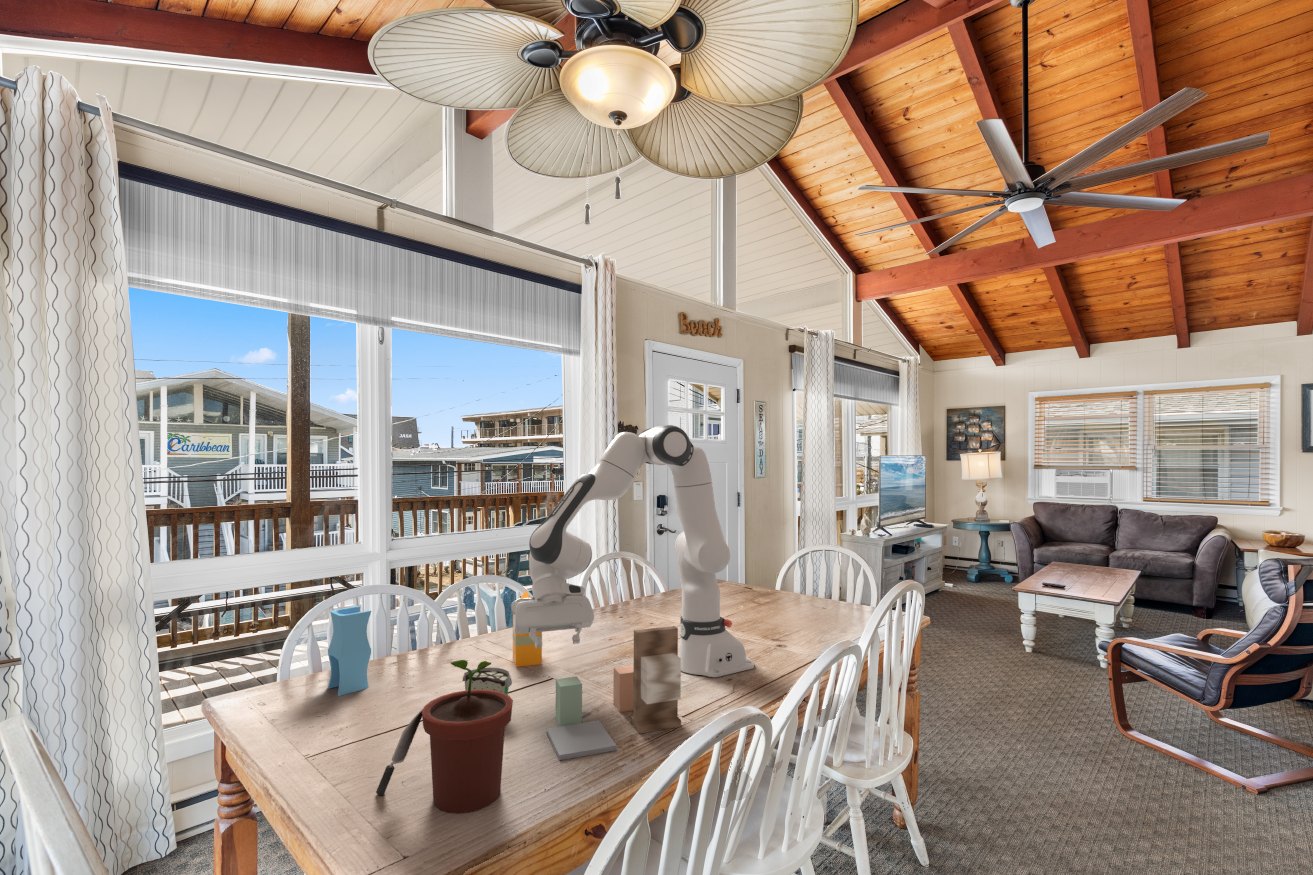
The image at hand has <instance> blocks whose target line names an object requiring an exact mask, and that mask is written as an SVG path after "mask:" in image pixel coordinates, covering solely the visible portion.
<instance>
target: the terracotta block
mask: <svg viewBox="0 0 1313 875" xmlns="http://www.w3.org/2000/svg"><path fill="white" fill-rule="evenodd" d="M633 690H634V664H629V665H628V664H627V665H622V666H614V667H613V692H612V693H613V698H612V700H613V706H614V707H615V708H616V709H617V711H618V712H619V713H623V712H629V711H633Z"/></svg>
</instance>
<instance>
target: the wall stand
mask: <svg viewBox="0 0 1313 875" xmlns="http://www.w3.org/2000/svg"><path fill="white" fill-rule="evenodd" d="M678 640H679V629H678V627H676V626H675V625H673V626H662V627H661V626H660V627H654V628H644V629H643V628H642V629H635V630H633V666H634V690H633V710H632V711H633V713H632V714H633V715H630V719H629V720H630V724H631V726H632V727H633V728H634V729H635V730H636V732H637V733H638V734H640V735H641V734H646V733H652V732H656V731H657V732H659V731H663V730H668V729H675V728H681V727H682V719H681V718H680V717H679V716H678V712H679V710H678V702H679V700H681V698H682V697H681V695H682V694H681V692H682V690H681V688H682V687H681V686H682V683H681V682H682V680H681V679H682V677H681V676H682V675H681V674H682V673H681V672H682V671H681V658H680V657H678V656H679V641H678Z"/></svg>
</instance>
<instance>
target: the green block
mask: <svg viewBox="0 0 1313 875" xmlns="http://www.w3.org/2000/svg"><path fill="white" fill-rule="evenodd" d="M555 720H556V722H557V724H558V725H559V726H566V725H572V724H578V723H583V683H582V681H581V680H580V679H579V677H578V676H569V677H564V678H563V677H562V678H556V679H555ZM559 726H558V727H559Z"/></svg>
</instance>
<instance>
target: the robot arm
mask: <svg viewBox="0 0 1313 875" xmlns="http://www.w3.org/2000/svg"><path fill="white" fill-rule="evenodd" d="M644 464H649V465H657V466H665V465H667V466H668V467H669V468H670V471H671V473H672V477H673V478H672V479H673V489H674V494H675V495H674V496H675V497H674V498H675V504H676V512H677V515H678V517H679V520H680V523H681V526H682V529H683V531H681V532H680V533H679V534H678V536H677V537H676V539H675V541H674V550H675V553H676V559H677V566H678V571H679V573H678V574H679V579H680V585H681V586H680V587H681V616H680V618H679V619H680V622H679V623H680V624H679V632H680V633H679V636H680V645H679V650H678V657H680V658H681V672H682V673H687V674H690V675H696V676H697V675H698V676H699V675H700V676H705V677H709V678H718V677H722V676H726V675H731V674H735V673H739V672H744V671H748V670H753V669H755V663H754V662H753V660H752V659H751V658H750V657H748V656H747V654H746V649H745V645H744V644H743V643H742V642H741V640H739V638H737V637H736V636H735V635H733V634H732V633H731V632H730V631H729V630H727V629H726V627H727V628H732V626H733V622H732V620H730V619H727V618H726V619H725V618H724V617H722V616H721V590H720V587H719V584H718V583H719V582H718V580H717V576H716V574H717V573H720V572H722V571H723V570H724V569H726V568H727V566H728V565H729V562H730V559H731V553H730V548H729V546H728V544H727V542H726V541H725V540H726V539H725V537H724V534H723V531H722V526H721V524H720V520H719V517H718V514H717V509H716V504H715V495H714V487H713V481H712V473H711V469H710V465H709V461H708V457H707V455H706V452H705V451H704V450H703V448H701V447H699V446H696V445H693V443H692V442H691V440H690V438H689V436H688V434H687V432H685V430H684V429H682V428H681V427H679V426H676V425H673V424H669V425H668V424H667V425H656V426H653V427H652V428H651V427H650V428H647V429H645V430H643V431H642V432H640V433H638V434H636V433H634V432H628V431H623V432H622V431H621V432H620V433H618V434H616V435H615V437H614V438H613V439H612V440H611V442H610V443H609V444H608V446H607V447H606V449H605V450H604V452H603V453H602V455H601V456H600V458H599V460H598V462H597V463H596V465H595V466H594V467H593V468H592V469H591V470H590V471H589V472H587V473H583V474H581V475H580V476H579V477H577V479H575V481H574V482H573V483H572V484H571V486H570V487H569V488H568V490H567V491H566V492H565V493H564V494H563V496H562V497H561V499H560V500H559V502H558V503H557V504H556V505H555V506H554V508H553V509H552V511H551V512H550V513H549V515H548V516H547V517H546V519H545V520H544V521H543V522H541V524H539V525H538V526H537V527H536V528H535V530H533V532H532V534H531V535H530V538H529V543H528V544H529V547H528V548H529V556H528V558H529V559H528V566H529V567H528V568H529V575H530V578H531V581H532V586H531V589H532V597H531V596H530V597H531V598H525V599H522V598H521V597H520V598H516V600H514V601H512V602H511V604H510V609H511V613H512V615H513V614H514V631H515V632H516V633H517V634H526V633H529V637H530V638H531V639H532V640H533V641H534V642H535V647H536V648H540V647H542V648H543V637H542V638H538V637H537V636H536V634H535V633H536V632H542V633H545V632H547V633H548V632H555V631H565V630H567V631H568V630H574V631H575V633H576V634H573V635H572V639H571V640H572V644H573V645H577V644H580V642H581V637H580V634H581V632H582V629H586V628H587V629H588V628H591V627H592V625H593V623H594V621H595V614H594V611H593V607H592V603H591V601H590V599H589V598H588V597H587V596H586V590H585V587H584V586H582V585H576V584H572V583H568V582H566V580H568V579H569V580H570V579H572V578H574V577H576V576H578V575H579V574H580V575H581V573H583V572H585V571H586V570H588V568H589V567H590V564H591V562H592V557H593V550H592V547H591V545H590V543H588V542H586V541H585V540H583V539H581V538H579V537H578V536H576V535H573V534H572V533H570V532H568V531H567V528H568V526H569V525H570V524H571V522H572V521H573V520H574V519H575V518H576V516H577V514H578V513H579V512H580V510H581V509H582V507H583V506H584V505H585V504H587V503H588V502H590V501H596V500H599V501H614V500H617V499H620V498H622V497H623V496H625V495H626V494H627V492H628V491H629V490H630V489H631V487H632V484H633V483H634V480H635V478H636V477H637V475H638V473H639V470H640V469H641V468H642V467H643V465H644Z"/></svg>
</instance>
